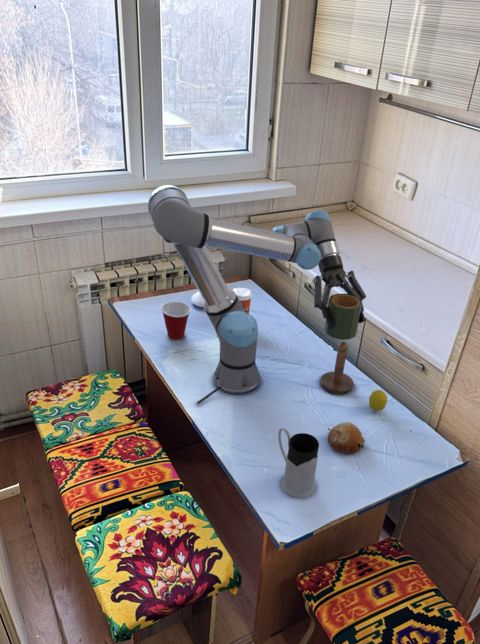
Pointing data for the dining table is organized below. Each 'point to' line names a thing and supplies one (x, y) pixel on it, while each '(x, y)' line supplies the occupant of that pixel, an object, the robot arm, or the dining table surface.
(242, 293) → the coffee cup
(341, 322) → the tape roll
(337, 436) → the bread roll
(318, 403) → the dining table surface
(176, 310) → the plastic cup
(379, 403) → the lemon
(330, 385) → the peg stand
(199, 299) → the flower in vase
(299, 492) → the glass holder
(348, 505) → the dining table surface
